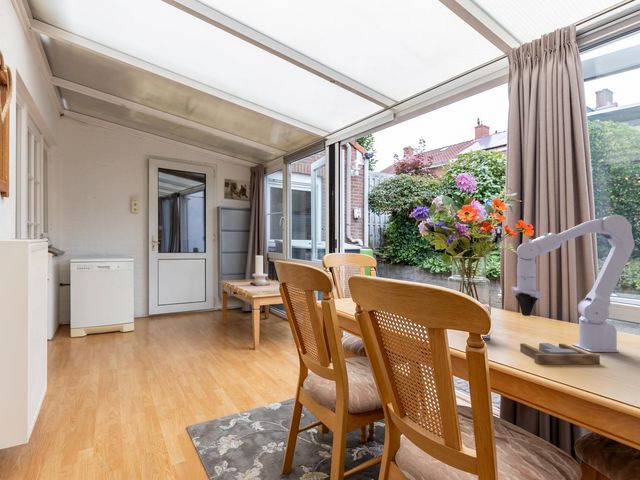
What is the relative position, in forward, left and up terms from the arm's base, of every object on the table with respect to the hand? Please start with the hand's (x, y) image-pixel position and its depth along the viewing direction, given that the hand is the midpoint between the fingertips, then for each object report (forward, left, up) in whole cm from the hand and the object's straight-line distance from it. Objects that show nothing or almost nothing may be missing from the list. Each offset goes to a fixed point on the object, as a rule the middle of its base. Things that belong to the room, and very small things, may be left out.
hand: (526, 315), depth 121 cm
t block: (+2, +17, -9) cm, 19 cm away
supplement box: (+14, -5, -9) cm, 18 cm away
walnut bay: (+2, +16, -9) cm, 19 cm away
